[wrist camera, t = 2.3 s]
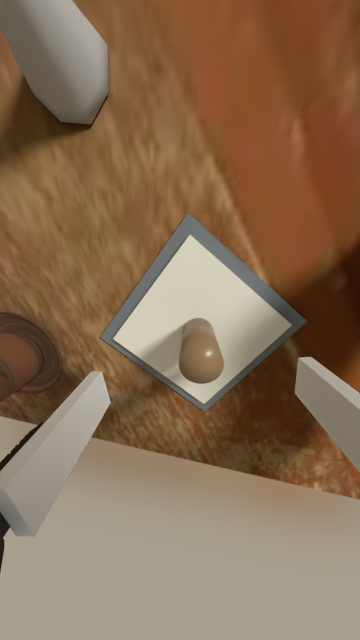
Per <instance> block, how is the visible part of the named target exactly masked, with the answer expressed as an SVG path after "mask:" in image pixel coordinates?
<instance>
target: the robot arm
mask: <svg viewBox="0 0 360 640" xmlns="http://www.w3.org/2000/svg"><path fill="white" fill-rule="evenodd" d="M295 394H296V396H297V397H298V398H299V399H300V400H301V402H302V403H303V404H304V405H305V407H306V408H307V409H308V410H309V411H310V413H311V414H312V415H313V416H314V417H315V419H316V420H317V421H318V422H319V424H320V425H321V426H322V427H323V428H324V430H325V431H326V432H327V433H328V434H329V436H330V437H331V438H332V439H333V441H334V442H335V443H336V444H337V445H338V447H339V448H340V449H341V450H342V451H343V453H344V454H345V455H346V456H347V458H348V459H349V460H350V461H351V462H352V464H353V465H354V466H355V467H356V468H357V470H358V471H359V472H360V393H358V392H357V391H356V390H354V389H353V388H352V387H350V386H349V385H348V384H347V383H345V382H344V381H343V380H341V379H340V378H339V377H337V376H336V375H335V374H333V373H332V372H331V371H329V370H328V369H327V368H325V367H324V366H323V365H321V364H320V363H319V362H317V361H316V360H315V359H313V358H312V357H301V358H298V366H297V375H296V384H295ZM110 403H111V402H110V399H109V395H108V392H107V388H106V385H105V381H104V378H103V374H102V371H95V372H91V373H90V374H89V375H88V376H87V377H86V378H85V379H84V380H83V381H82V382H81V383H80V385H79V386H78V387H77V388H76V389H75V390H74V391H73V392H72V393H71V394H70V395H69V397H68V398H67V399H66V400H65V401H64V402H63V403H62V404H61V405H60V406H59V408H58V409H57V410H56V411H55V412H54V413H53V414H52V415H51V416H50V417H49V418H48V420H47V421H46V422H45V423H41V424H39V425H38V426H37V427H35V428H34V429H33V430H31V431H30V432H29V433H28V434H27V435H26V436H25V437H24V438H23V439H22V440H21V441H20V442H19V445H17V446H16V447H15V448H14V449H13V450H12V451H11V453H10V454H8V455H7V456H6V457H5V458H4V459H3V460H2V461H1V462H0V571H1V564H2V558H3V552H4V539H3V537H4V535H5V534H6V532H7V531H8V529H9V528H11V529H12V531H13V532H14V534H15V535H16V536H35V535H36V534H37V532H38V530H39V528H40V526H41V525H42V523H43V521H44V519H45V517H46V516H47V514H48V512H49V511H50V509H51V507H52V505H53V504H54V502H55V500H56V498H57V496H58V495H59V493H60V491H61V489H62V488H63V486H64V484H65V482H66V480H67V479H68V477H69V475H70V473H71V472H72V470H73V468H74V466H75V465H76V463H77V461H78V459H79V458H80V456H81V454H82V452H83V450H84V449H85V447H86V445H87V444H88V442H89V440H90V438H91V437H92V435H93V433H94V431H95V430H96V428H97V426H98V424H99V422H100V421H101V419H102V417H103V415H104V414H105V412H106V410H107V408H108V407H109V405H110Z"/></svg>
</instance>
